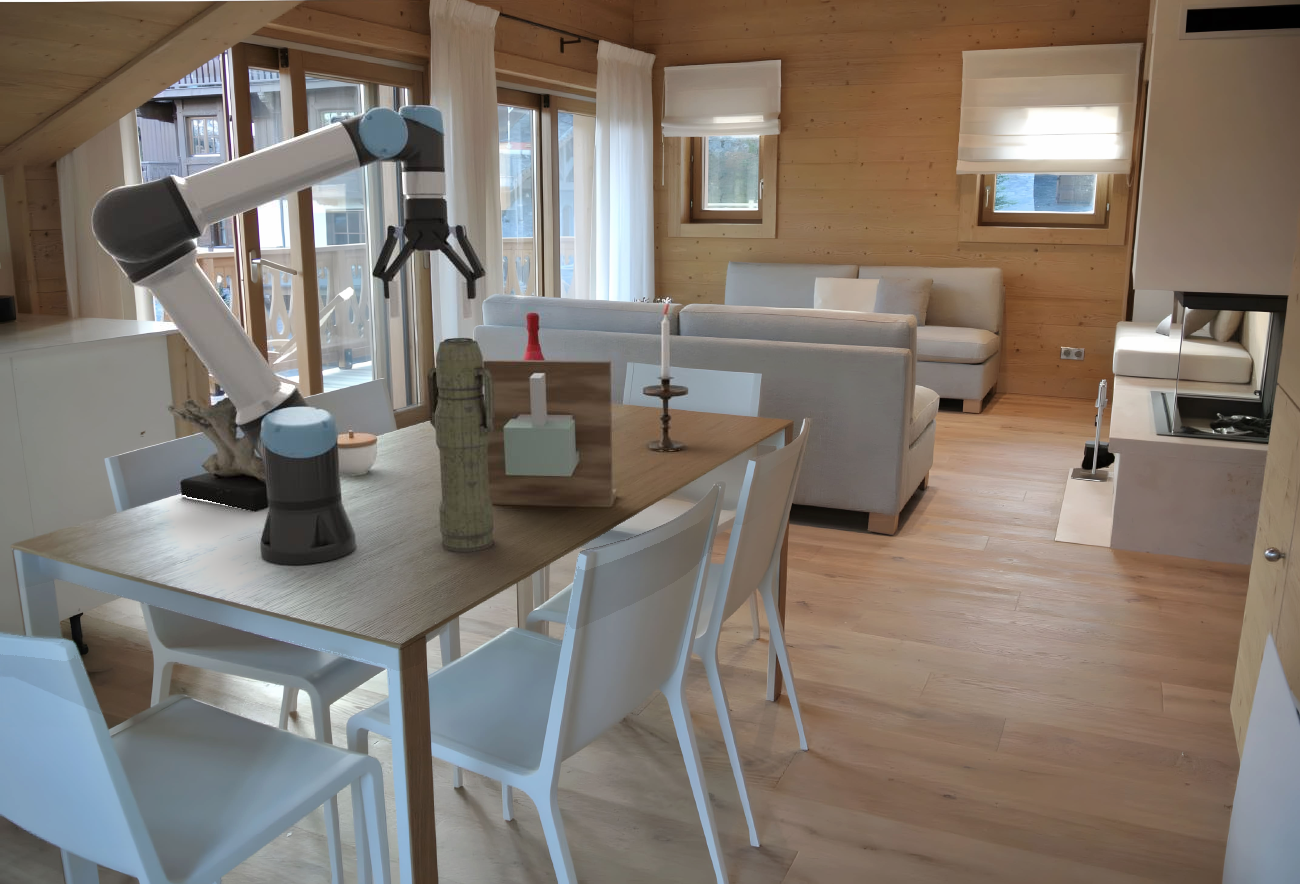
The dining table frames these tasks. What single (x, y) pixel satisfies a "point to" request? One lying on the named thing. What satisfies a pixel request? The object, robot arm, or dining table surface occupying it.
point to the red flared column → (533, 338)
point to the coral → (225, 459)
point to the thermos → (463, 443)
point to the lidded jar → (356, 453)
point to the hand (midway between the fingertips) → (431, 317)
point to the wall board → (566, 394)
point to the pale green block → (540, 438)
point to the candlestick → (665, 394)
